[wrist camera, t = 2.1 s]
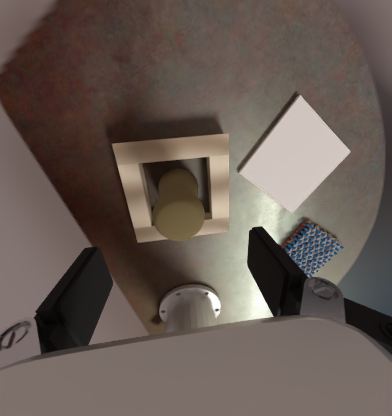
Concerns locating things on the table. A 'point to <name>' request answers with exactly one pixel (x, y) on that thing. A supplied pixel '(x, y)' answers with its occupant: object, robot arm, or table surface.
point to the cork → (178, 206)
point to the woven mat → (310, 240)
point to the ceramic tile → (294, 156)
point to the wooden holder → (174, 150)
